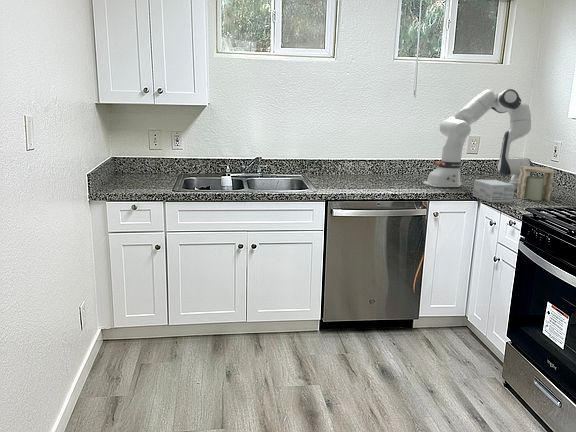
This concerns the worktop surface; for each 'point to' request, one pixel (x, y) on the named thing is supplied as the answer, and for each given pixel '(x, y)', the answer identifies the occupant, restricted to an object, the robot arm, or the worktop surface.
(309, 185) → the worktop surface
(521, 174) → the tunnel
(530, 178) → the can
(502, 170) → the robot arm
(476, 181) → the supplement box
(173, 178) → the worktop surface
